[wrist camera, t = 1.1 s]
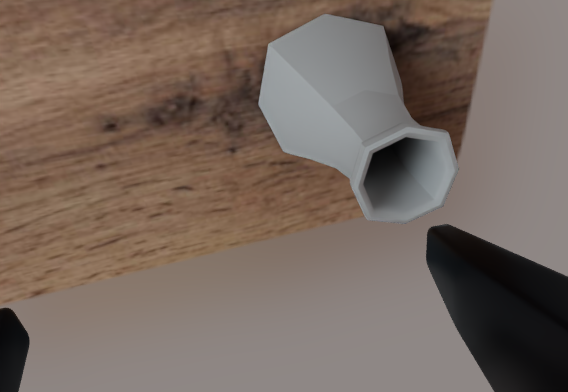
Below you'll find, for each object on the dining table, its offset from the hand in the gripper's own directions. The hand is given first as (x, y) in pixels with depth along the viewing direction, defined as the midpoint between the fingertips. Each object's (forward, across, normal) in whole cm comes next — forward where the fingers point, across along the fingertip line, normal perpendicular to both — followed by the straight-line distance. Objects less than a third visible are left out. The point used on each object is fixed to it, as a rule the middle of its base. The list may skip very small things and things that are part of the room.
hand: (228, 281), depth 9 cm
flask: (+13, -5, 0) cm, 14 cm away
